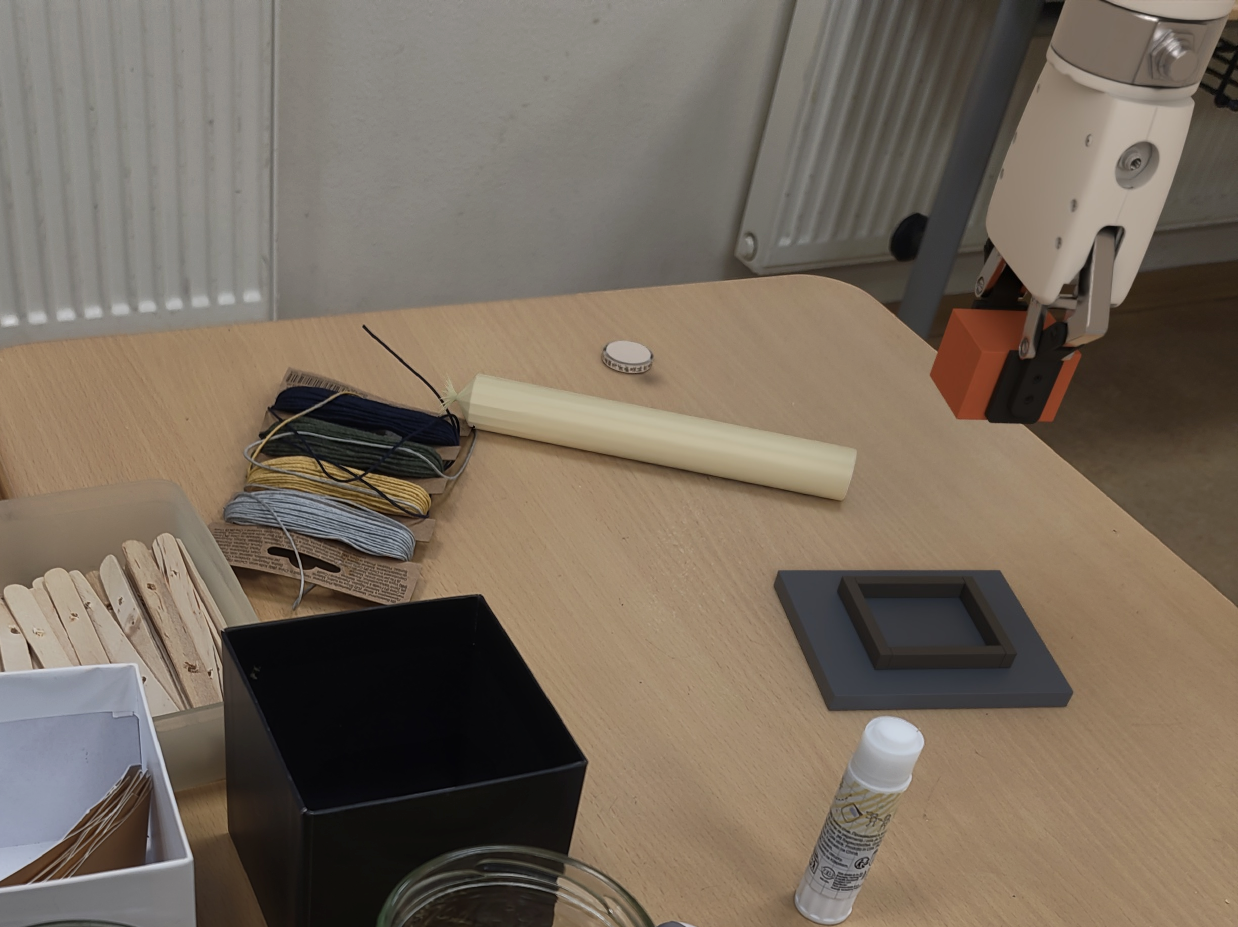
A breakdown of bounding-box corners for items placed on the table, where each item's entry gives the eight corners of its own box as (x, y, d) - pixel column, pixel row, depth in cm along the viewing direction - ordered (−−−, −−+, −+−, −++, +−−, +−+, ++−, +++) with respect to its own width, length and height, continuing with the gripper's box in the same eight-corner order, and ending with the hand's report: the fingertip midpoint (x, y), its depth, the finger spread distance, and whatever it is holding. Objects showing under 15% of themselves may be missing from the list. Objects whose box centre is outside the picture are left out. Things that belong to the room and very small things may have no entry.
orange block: (1022, 378, 87) (1049, 311, 84) (1052, 422, 84) (1082, 355, 81) (928, 375, 86) (952, 308, 83) (956, 420, 83) (982, 351, 80)
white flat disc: (597, 366, 113) (599, 358, 113) (606, 343, 116) (608, 335, 115) (647, 377, 113) (649, 369, 113) (655, 353, 115) (657, 345, 115)
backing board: (993, 584, 100) (1007, 554, 98) (1066, 707, 92) (1082, 676, 90) (773, 585, 97) (782, 554, 96) (828, 711, 90) (840, 679, 88)
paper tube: (444, 406, 108) (449, 357, 105) (842, 485, 106) (858, 438, 103) (434, 430, 105) (438, 381, 103) (840, 512, 104) (856, 464, 101)
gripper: (1284, 112, 66) (1108, 476, 80) (1134, -18, 76) (1001, 326, 91) (1134, 103, 65) (982, 474, 79) (1001, -27, 75) (888, 322, 90)
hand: (993, 391), depth 85 cm, fingers closed on orange block, 5 cm apart
